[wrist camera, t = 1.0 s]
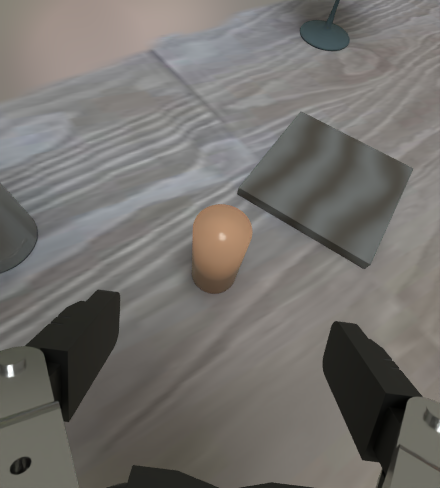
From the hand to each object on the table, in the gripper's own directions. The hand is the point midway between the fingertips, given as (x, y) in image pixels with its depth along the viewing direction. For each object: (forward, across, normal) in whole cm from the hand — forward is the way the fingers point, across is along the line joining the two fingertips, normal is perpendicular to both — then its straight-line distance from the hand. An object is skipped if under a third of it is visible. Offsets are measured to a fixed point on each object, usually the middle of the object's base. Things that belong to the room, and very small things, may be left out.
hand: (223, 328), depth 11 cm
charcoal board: (+37, -15, -4) cm, 40 cm away
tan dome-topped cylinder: (+25, 0, +8) cm, 26 cm away
